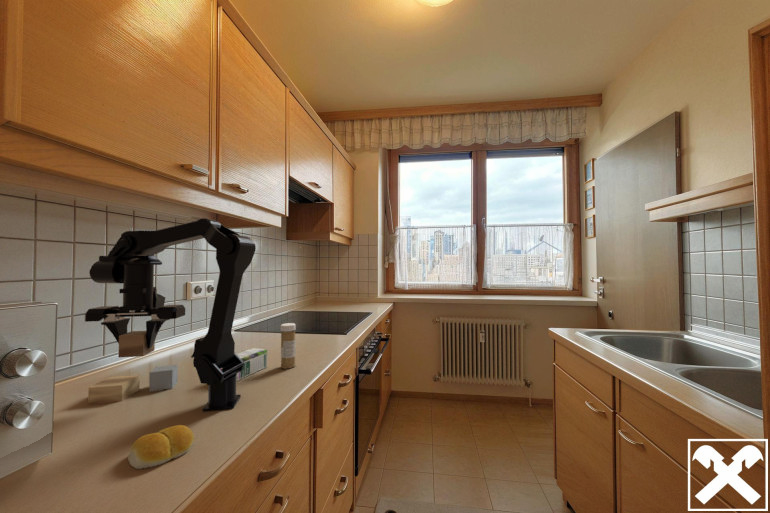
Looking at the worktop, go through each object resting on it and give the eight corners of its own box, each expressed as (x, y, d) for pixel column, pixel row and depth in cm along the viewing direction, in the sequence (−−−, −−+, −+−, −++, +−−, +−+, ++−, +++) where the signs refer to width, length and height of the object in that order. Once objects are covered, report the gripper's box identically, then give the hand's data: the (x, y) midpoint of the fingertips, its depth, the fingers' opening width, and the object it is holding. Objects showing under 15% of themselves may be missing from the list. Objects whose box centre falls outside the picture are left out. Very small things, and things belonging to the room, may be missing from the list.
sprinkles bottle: (282, 364, 99) (282, 322, 100) (297, 364, 100) (296, 322, 100) (279, 369, 95) (278, 325, 95) (294, 368, 95) (294, 325, 95)
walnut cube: (143, 356, 72) (143, 334, 72) (118, 357, 71) (119, 335, 71) (154, 350, 77) (154, 330, 77) (131, 351, 76) (132, 331, 76)
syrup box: (267, 367, 97) (231, 384, 83) (252, 365, 99) (214, 382, 85) (267, 349, 97) (231, 363, 83) (252, 347, 99) (214, 361, 85)
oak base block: (122, 401, 74) (122, 385, 74) (88, 404, 72) (88, 387, 73) (139, 390, 81) (139, 375, 81) (108, 392, 79) (108, 377, 79)
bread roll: (201, 448, 54) (202, 425, 54) (139, 477, 47) (139, 450, 47) (181, 434, 59) (181, 412, 59) (122, 458, 52) (122, 434, 52)
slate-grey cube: (172, 389, 81) (172, 369, 81) (149, 392, 79) (149, 372, 79) (177, 382, 85) (177, 364, 86) (155, 385, 84) (155, 366, 84)
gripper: (194, 281, 84) (193, 338, 84) (116, 282, 81) (114, 342, 80) (175, 284, 73) (174, 350, 73) (83, 285, 70) (81, 354, 69)
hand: (137, 348), depth 74 cm, fingers closed on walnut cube, 5 cm apart
